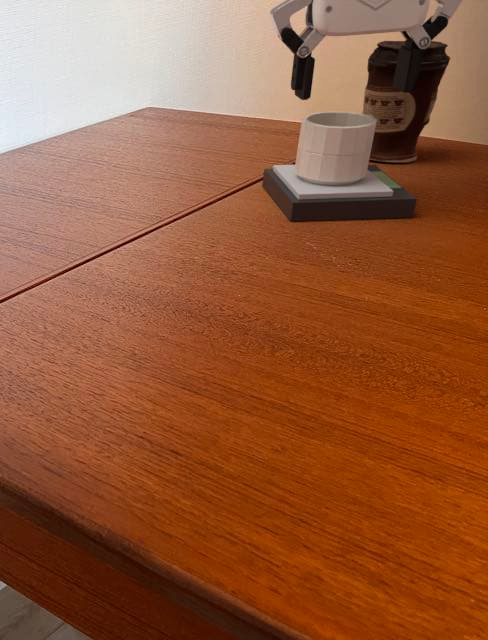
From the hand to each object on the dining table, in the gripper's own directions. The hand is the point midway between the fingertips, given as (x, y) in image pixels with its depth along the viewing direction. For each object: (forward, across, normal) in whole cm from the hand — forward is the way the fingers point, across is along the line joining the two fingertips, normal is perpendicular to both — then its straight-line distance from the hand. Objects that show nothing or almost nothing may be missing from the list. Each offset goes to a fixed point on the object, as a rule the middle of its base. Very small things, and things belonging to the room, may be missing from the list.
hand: (351, 93), depth 86 cm
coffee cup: (+11, +11, +16) cm, 22 cm away
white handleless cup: (+8, -1, 0) cm, 9 cm away
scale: (+11, 0, 0) cm, 11 cm away
